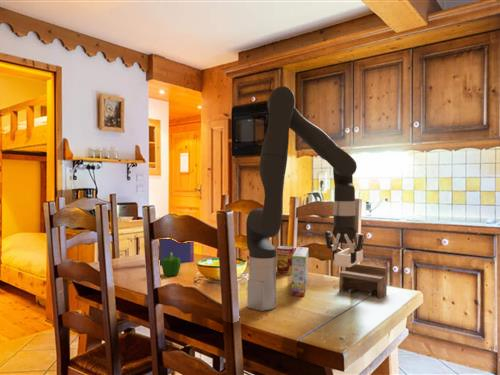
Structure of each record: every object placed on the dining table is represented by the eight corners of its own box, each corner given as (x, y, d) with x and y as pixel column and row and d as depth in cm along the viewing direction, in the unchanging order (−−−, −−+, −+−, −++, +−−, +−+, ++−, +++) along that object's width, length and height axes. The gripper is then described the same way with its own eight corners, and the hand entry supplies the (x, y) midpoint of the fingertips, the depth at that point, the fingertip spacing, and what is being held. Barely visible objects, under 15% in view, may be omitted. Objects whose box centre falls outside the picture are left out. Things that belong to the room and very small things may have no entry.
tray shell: (349, 267, 131) (349, 255, 130) (334, 265, 134) (334, 253, 134) (362, 260, 142) (362, 249, 142) (348, 258, 145) (348, 248, 145)
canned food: (273, 272, 178) (273, 247, 178) (283, 270, 184) (283, 245, 184) (287, 275, 173) (287, 249, 173) (297, 272, 179) (297, 247, 179)
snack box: (305, 297, 142) (306, 256, 141) (290, 296, 143) (290, 255, 143) (308, 282, 162) (308, 246, 162) (295, 281, 164) (295, 246, 163)
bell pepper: (176, 278, 168) (176, 255, 168) (159, 277, 170) (159, 254, 169) (183, 273, 176) (183, 251, 176) (166, 272, 178) (166, 251, 178)
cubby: (380, 298, 140) (381, 271, 140) (339, 290, 149) (339, 265, 149) (386, 293, 146) (386, 267, 146) (346, 286, 155) (346, 262, 155)
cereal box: (190, 260, 206) (190, 215, 206) (193, 261, 202) (193, 216, 202) (158, 263, 197) (158, 217, 197) (161, 265, 193) (161, 217, 193)
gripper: (368, 214, 133) (368, 262, 133) (329, 212, 141) (329, 257, 141) (361, 215, 126) (361, 266, 127) (320, 213, 135) (320, 261, 135)
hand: (344, 261), depth 134 cm, fingers closed on tray shell, 5 cm apart
